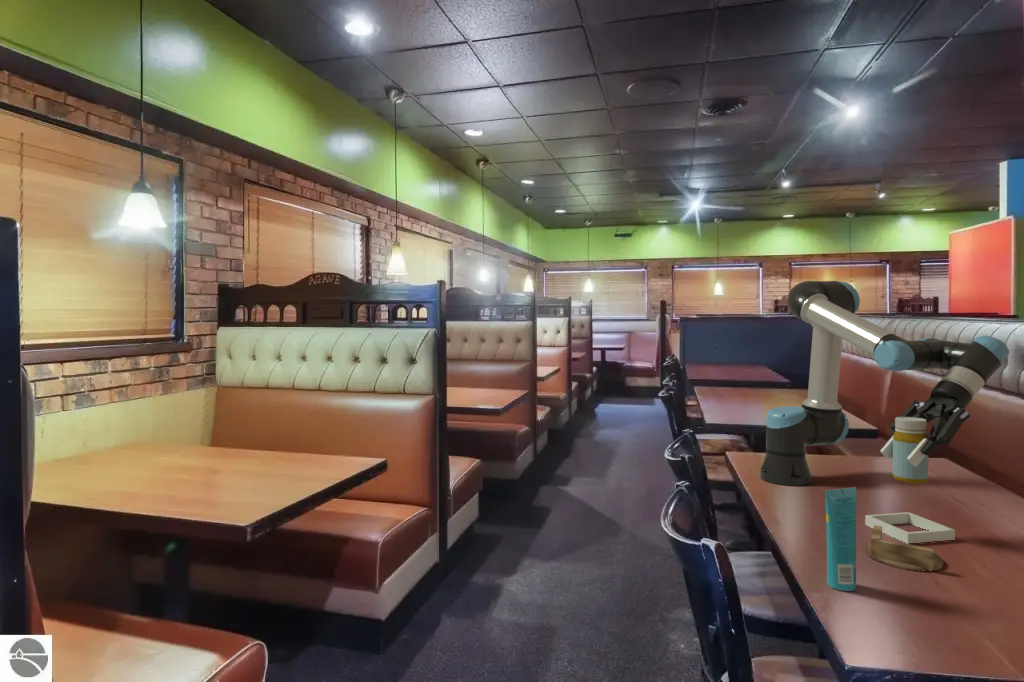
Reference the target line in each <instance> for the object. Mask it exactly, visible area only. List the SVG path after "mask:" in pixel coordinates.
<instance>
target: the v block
mask: <svg viewBox="0 0 1024 682" xmlns="http://www.w3.org/2000/svg"><path fill="white" fill-rule="evenodd" d="M865 551H866V553H867V554H868V555H870V556H871V557H873V558H875V559H876V560H879V561H881V562H883V563H885V564H884V565H886V564H889V565H891V566H890V567H892V566H895V567H894V568H896V567H900V568H905V569H910V570H909V571H911V570H919V571H918V572H922V570H925V571H928V572H934V571H933V570H935V569H939V568H941V567H942V566H943V567H944V560H943V558H942V557H941V556H940V555H938V554H937V553H935V552H934V548H929V547H925V546H924V547H923V546H918V545H915V544H906V543H904V542H897V541H893V540H891V541H890V540H885V539H883V533H882V526H876V525H874V527H873V528H872V534H871V537H870V542H869V543H866V544H865V546H864V552H865ZM866 553H865V554H866ZM867 554H866V555H867ZM868 555H867V556H868ZM871 557H870V558H871ZM876 560H875V561H876ZM883 563H882V564H883ZM889 565H888V566H889ZM943 567H942V568H943ZM900 568H899V569H900ZM942 568H941V569H942ZM905 569H904V570H905ZM929 570H931V571H929Z"/></svg>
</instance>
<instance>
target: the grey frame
mask: <svg viewBox="0 0 1024 682" xmlns="http://www.w3.org/2000/svg"><path fill="white" fill-rule="evenodd" d="M864 517H865V520H864V523H865V524H864V525H865V526H866V525H867V526H866V527H868V526H869V527H868V528H871V529H873V527H874V525H876V526H882V534H884V533H885V534H884V535H886V534H887V535H886V536H888V535H889V536H888V537H890V536H891V538H893V537H894V538H893V539H895V538H896V539H895V540H897V539H898V540H897V541H899V540H900V541H899V542H901V541H903V542H902V543H904V542H905V543H904V544H906V543H907V544H909V543H918V542H919V544H921V543H920V542H929V541H930V542H931V541H943V540H955V541H956V529H954V528H951V527H949V526H946V525H943V524H941V523H938V522H936V521H934V520H930V519H927V518H925V517H922V516H921V515H917V514H914V513H912V512H910V511H909V512H908V511H907V512H895V513H894V512H891V513H882V514H881V513H880V514H879V513H878V514H866V515H864ZM899 524H900V525H902V524H910V525H912V526H915V527H917V528H919V527H920V529H922V528H923V529H922V530H920V531H906V530H904V529H902V528H899V527H897V526H894V525H899ZM924 529H926V530H924ZM927 530H929V531H927ZM943 542H944V541H943ZM931 543H932V542H931ZM909 545H910V544H909Z"/></svg>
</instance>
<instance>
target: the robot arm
mask: <svg viewBox="0 0 1024 682" xmlns="http://www.w3.org/2000/svg"><path fill="white" fill-rule="evenodd" d="M860 301H861V300H860V296H859V293H858V291H857V289H856V288H855V287H854V286H853V285H852V284H851V283H848V282H846V281H838V280H825V281H824V280H823V281H822V280H806V281H802V282H798V283H797V284H795V285H794V286H793V287H792V288H791V289H790V291H789V292H788V295H787V297H786V303H787V304H786V305H787V308H788V309H789V311H790V313H791V314H792V315H794V316H795V317H796V318H798V319H799V320H801V321H803V322H805V323H808V324H810V325H811V327H812V337H811V338H812V339H811V348H810V349H811V350H810V360H809V361H810V364H809V376H808V377H809V378H808V389H807V398H806V399H805V400H803V401H802V402H801V406H796V405H795V406H794V405H787V406H785V405H784V406H778V407H773V408H770V410H767V412H766V416H765V417H766V419H765V456H764V458H763V462H762V464H761V468H760V471H759V478H760V479H761V480H764V481H765V482H768V483H772V484H777V485H784V486H807V485H810V484H812V479H813V477H812V473H811V468H810V467H809V464H808V461H807V459H806V451H807V450H806V447H812V446H821V445H823V446H829V445H832V444H833V445H834V444H837V443H839V442H841V441H843V440H844V439H845V438H846V437H847V435H848V432H849V427H850V424H849V423H850V422H849V419H848V418H847V415H846V413H845V412H844V411H842V410H843V406H842V405H841V404H840V403H839V402H838V395H839V394H838V393H839V385H840V384H839V381H840V373H841V372H840V371H841V370H840V369H841V359H842V347H843V341H845V342H848V343H849V344H851V345H853V346H854V347H855V348H858V349H860V350H862V351H863V352H865V353H867V354H868V355H869V356H870V355H871V356H872V357H874V361H875V363H876V364H877V365H878V367H880V368H881V369H883V370H886V371H894V372H902V371H914V370H936V369H937V370H944V371H946V373H945V374H944V375H943V376H942V377H941V379H940V380H939V381H938V382H937V384H935V385H934V387H933V388H932V389H931V391H930V397H929V398H928V399H926V400H925V401H924V402H919V401H918V400H916V399H915V400H913V401H912V402H911V403H910V406H909V407H908V408H906V410H905V411H904V412H903V413H902V414H900V416H899V417H915V418H922V419H926V421H927V423H929V422H931V421H932V420H933V423H932V426H931V429H930V432H929V434H928V435H927V436H926V437H927V438H928V440H927V439H926V438H923V440H922V441H921V442H920V443H919V444H918V446H917V447H916V448H915V449H914V450H913V452H912V453H911V454H910V455H909V456H908V457H907V459H908V461H909V462H910V463H911V464H912V465H913V466H915V467H917V466H918V464H919V463H920V462H921V461H922V460H923V458H924V457H925V456H926V455H928V456H929V455H930V454H932V452H933V451H934V449H935V448H936V447H939V446H941V445H942V446H943V447H948V445H950V444H951V441H952V440H953V439H954V437H955V435H956V434H957V433H958V431H959V429H960V427H962V425H963V424H964V422H965V421H967V420H968V419H969V418H971V414H970V413H969V412H968V411H967V410H966V408H967V406H968V405H969V404H970V403H971V401H972V400H973V398H974V397H975V396H976V395H978V394H979V392H980V391H981V389H982V388H983V387H984V386H985V384H986V383H987V382H988V380H989V379H990V378H991V377H992V376H993V375H994V374H995V373H996V372H997V371H998V370H999V368H1001V367H1002V366H1003V363H1004V362H1005V360H1006V359H1007V358H1008V357H1009V354H1010V349H1009V348H1008V346H1007V345H1006V343H1004V341H1002V340H1000V339H999V338H996V337H993V336H990V335H979V336H977V337H976V338H975V339H973V340H972V341H971V343H968V342H957V341H951V340H943V339H938V338H929V337H928V338H925V337H924V338H918V339H917V340H908V339H905V338H902V337H901V336H899V335H897V334H894V333H893V332H892V331H888V330H887V329H884V328H883V327H881V326H879V325H878V324H875V323H873V322H871V321H869V320H867V319H865V318H863V317H861V316H859V315H857V314H856V312H857V311H858V310H859V308H860V304H861V302H860ZM895 428H896V427H895V421H894V422H892V424H891V425H890V426H889V429H890V430H891V431H892V432H893V433H892V434H891V435H890V437H889V438H888V439H887V441H886V443H885V445H883V447H882V448H881V449H880V453H881V454H882V455H883V457H885V458H886V459H888V460H890V459H891V458H892V457H893V436H894V433H895V431H896V430H895Z"/></svg>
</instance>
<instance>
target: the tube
mask: <svg viewBox="0 0 1024 682" xmlns="http://www.w3.org/2000/svg"><path fill="white" fill-rule="evenodd" d="M857 497H858V496H857V487H856V486H853V487H846V488H837V489H835V488H834V489H829V490H828V489H827V490H825V521H826V522H825V524H826V526H825V528H826V529H825V530H826V583H827V586H829V587H830V588H832V589H835V590H838V591H843V592H852V591H855V590H856V589H857Z"/></svg>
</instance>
